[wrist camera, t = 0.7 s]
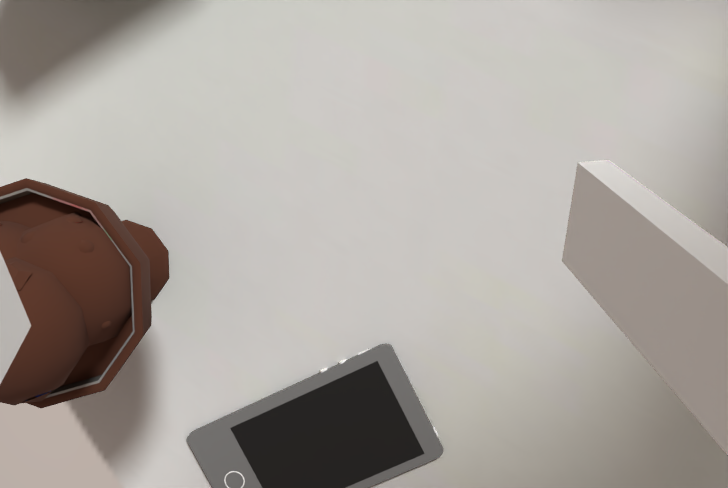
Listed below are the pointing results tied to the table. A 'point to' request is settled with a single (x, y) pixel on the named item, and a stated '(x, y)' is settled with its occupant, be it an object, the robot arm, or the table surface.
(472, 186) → the table surface
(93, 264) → the ice cream bowl
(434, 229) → the table surface
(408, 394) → the smartphone
